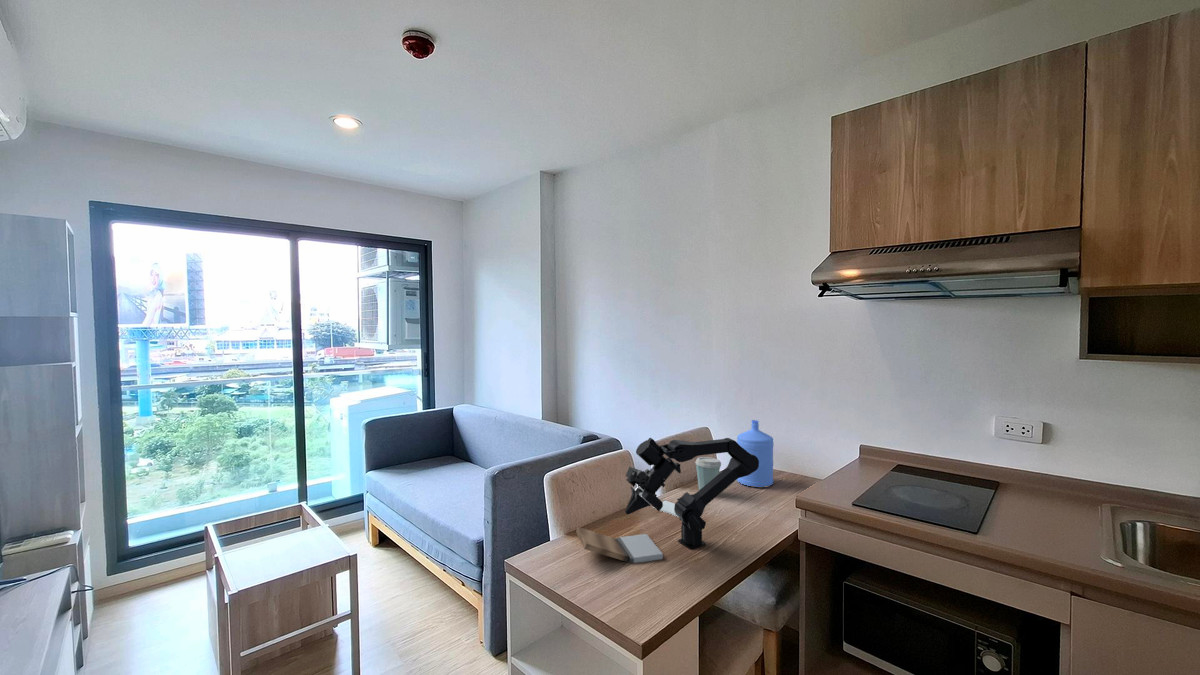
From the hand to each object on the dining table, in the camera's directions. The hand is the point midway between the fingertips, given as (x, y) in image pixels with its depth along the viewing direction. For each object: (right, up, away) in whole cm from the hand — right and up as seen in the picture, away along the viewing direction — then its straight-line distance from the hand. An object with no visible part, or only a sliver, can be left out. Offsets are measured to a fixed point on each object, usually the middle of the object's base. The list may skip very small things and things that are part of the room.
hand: (626, 513), depth 144 cm
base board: (+4, -12, +1) cm, 13 cm away
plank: (-8, -9, -2) cm, 12 cm away
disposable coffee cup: (+37, -11, +51) cm, 64 cm away
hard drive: (+20, -12, +34) cm, 41 cm away
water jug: (+62, -11, +65) cm, 90 cm away
